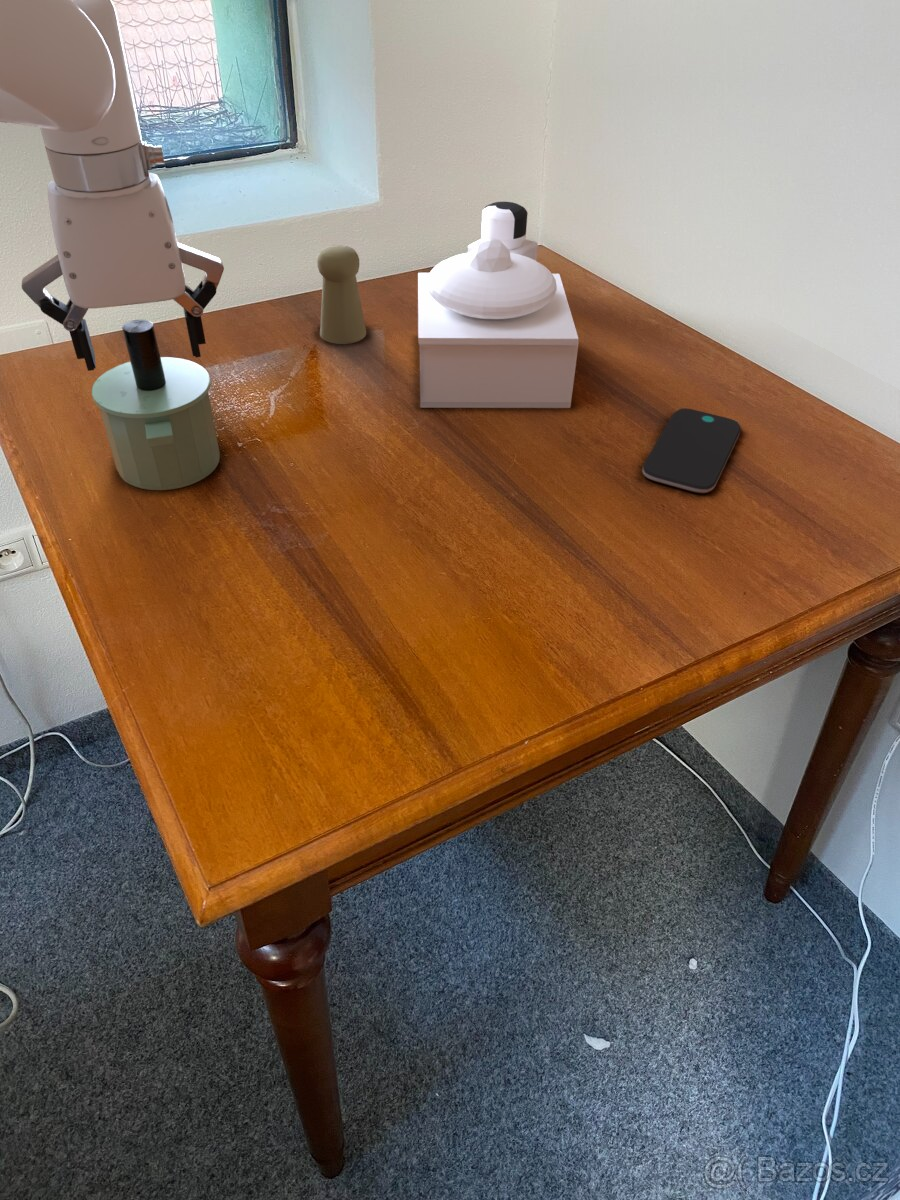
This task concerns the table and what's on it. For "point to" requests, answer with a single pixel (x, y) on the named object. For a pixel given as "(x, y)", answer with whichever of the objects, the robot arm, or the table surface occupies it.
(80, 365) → the table surface
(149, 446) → the pot
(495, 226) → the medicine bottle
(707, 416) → the smartphone
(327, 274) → the olive pawn
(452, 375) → the white box
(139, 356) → the pot lid
